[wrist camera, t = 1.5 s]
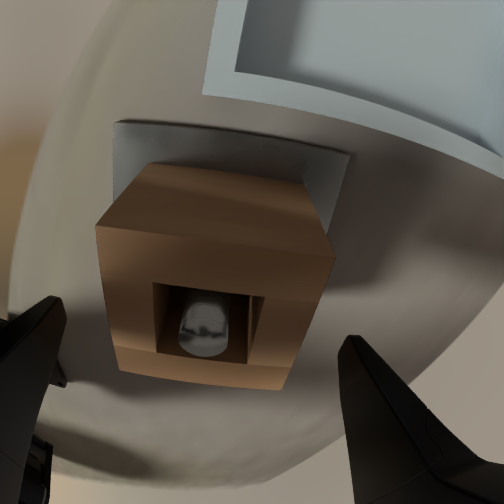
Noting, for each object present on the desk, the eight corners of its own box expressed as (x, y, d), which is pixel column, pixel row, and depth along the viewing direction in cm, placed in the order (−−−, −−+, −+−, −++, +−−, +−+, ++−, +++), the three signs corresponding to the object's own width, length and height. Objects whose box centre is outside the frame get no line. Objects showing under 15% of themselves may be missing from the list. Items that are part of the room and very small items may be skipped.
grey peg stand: (294, 320, 16) (308, 419, 11) (123, 298, 15) (88, 392, 10) (347, 153, 12) (416, 224, 7) (117, 120, 11) (29, 172, 6)
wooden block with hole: (263, 334, 16) (267, 418, 12) (149, 320, 16) (127, 401, 12) (303, 184, 12) (336, 257, 8) (148, 162, 11) (94, 225, 7)
